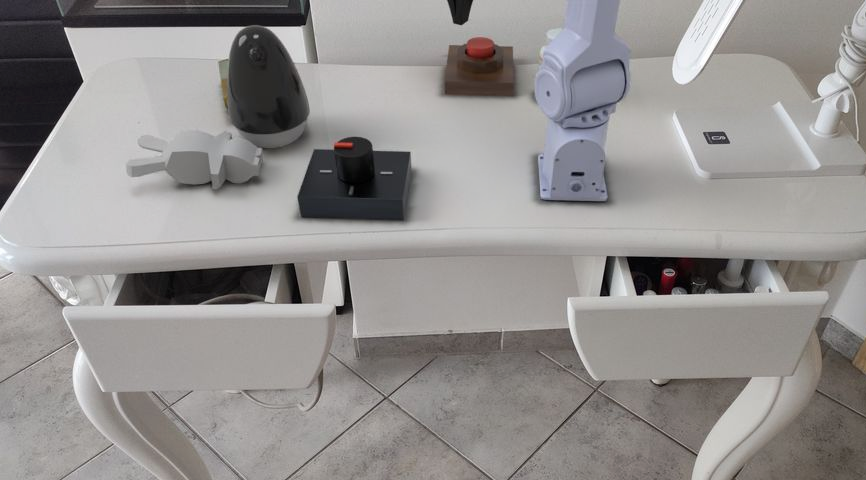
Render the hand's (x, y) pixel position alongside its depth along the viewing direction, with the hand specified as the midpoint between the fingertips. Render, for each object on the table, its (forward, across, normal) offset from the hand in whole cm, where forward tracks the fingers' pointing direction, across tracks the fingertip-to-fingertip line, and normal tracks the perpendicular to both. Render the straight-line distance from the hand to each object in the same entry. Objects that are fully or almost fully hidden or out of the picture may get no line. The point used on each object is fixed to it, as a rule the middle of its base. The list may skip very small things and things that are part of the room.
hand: (460, 22), depth 101 cm
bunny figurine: (+10, -16, -37) cm, 42 cm away
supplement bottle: (+10, +14, +3) cm, 17 cm away
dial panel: (+9, +4, -31) cm, 32 cm away
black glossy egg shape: (+10, -14, -26) cm, 31 cm away
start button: (+6, +1, +3) cm, 7 cm away
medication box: (+10, -24, -22) cm, 34 cm away
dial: (+6, +4, -31) cm, 31 cm away
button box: (+9, +1, +3) cm, 10 cm away
